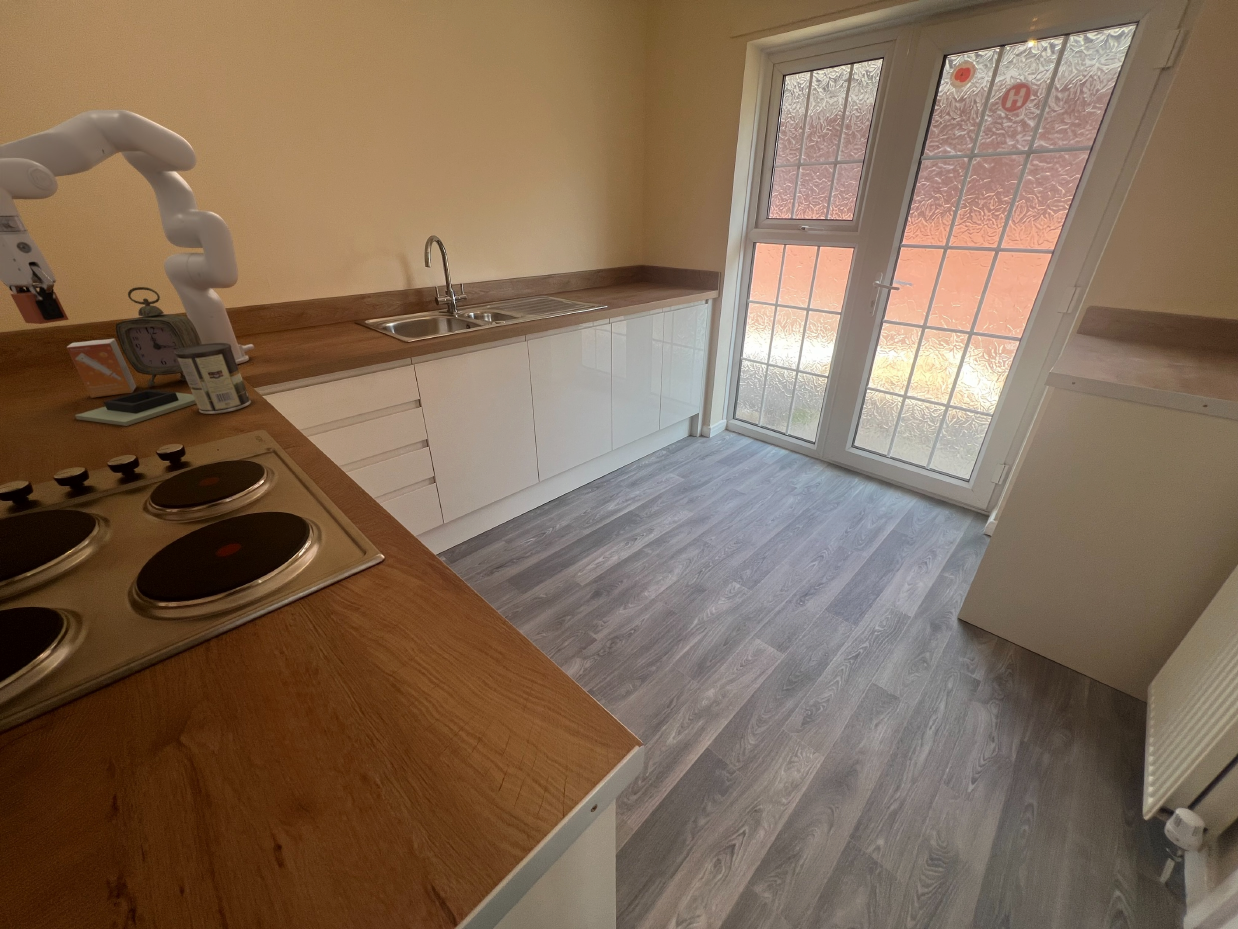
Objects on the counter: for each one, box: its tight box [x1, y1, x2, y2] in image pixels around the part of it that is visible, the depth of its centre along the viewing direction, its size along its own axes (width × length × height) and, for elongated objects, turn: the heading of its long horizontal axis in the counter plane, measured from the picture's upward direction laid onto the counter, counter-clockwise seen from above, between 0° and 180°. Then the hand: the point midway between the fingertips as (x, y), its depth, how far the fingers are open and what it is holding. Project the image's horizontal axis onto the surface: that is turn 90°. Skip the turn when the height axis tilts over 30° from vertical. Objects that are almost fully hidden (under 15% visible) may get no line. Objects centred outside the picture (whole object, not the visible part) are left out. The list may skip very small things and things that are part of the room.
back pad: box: [74, 389, 197, 427], centre depth 118 cm, size 18×16×3 cm
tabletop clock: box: [115, 286, 202, 387], centre depth 132 cm, size 14×9×25 cm, turn 99°
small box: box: [66, 338, 137, 399], centre depth 127 cm, size 8×6×13 cm
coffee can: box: [174, 343, 252, 415], centre depth 116 cm, size 10×10×14 cm
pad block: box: [10, 290, 70, 325], centre depth 109 cm, size 5×5×6 cm
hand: (45, 317), depth 110 cm, fingers closed on pad block, 5 cm apart
